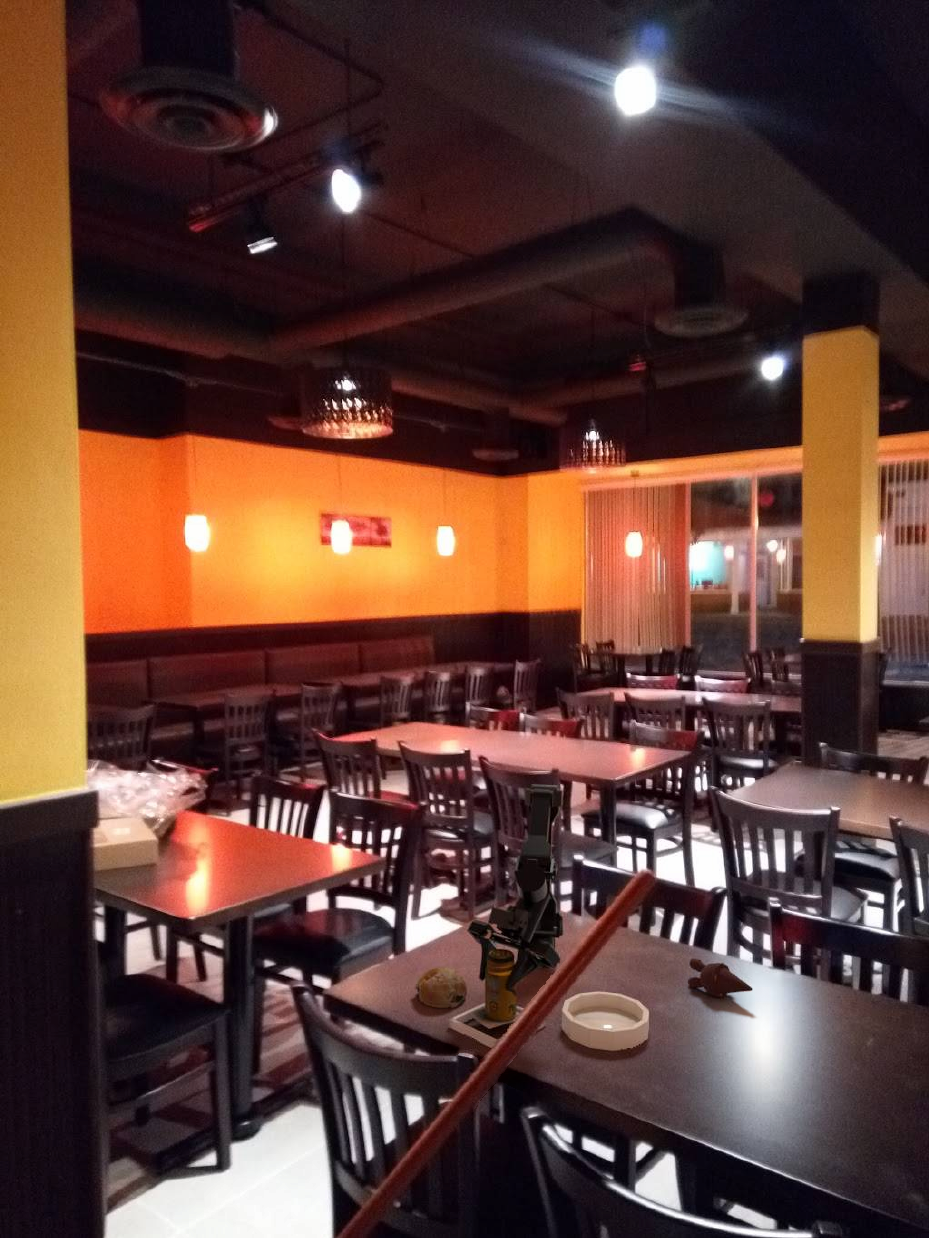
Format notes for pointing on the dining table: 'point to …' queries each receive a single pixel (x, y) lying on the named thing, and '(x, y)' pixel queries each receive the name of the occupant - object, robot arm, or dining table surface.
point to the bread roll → (441, 988)
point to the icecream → (716, 979)
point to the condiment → (498, 991)
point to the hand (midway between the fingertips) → (493, 984)
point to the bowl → (605, 1020)
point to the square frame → (487, 1040)
